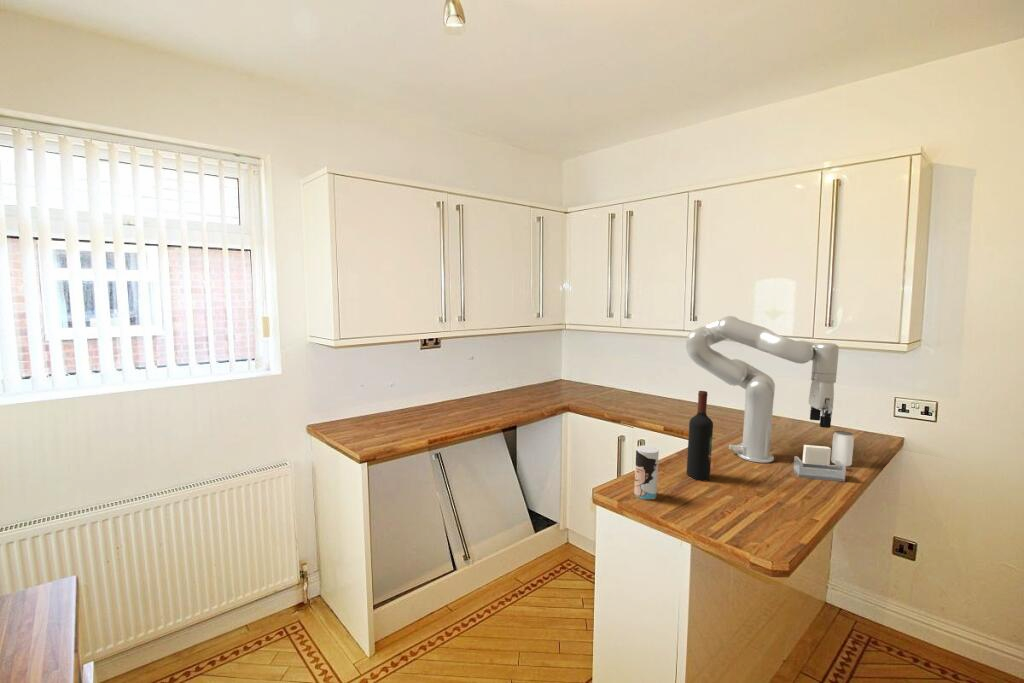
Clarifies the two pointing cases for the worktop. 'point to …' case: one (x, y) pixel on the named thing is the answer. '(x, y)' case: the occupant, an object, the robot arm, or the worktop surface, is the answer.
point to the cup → (646, 472)
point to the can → (842, 447)
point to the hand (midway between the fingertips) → (819, 423)
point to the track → (820, 470)
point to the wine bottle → (700, 442)
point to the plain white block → (816, 454)
